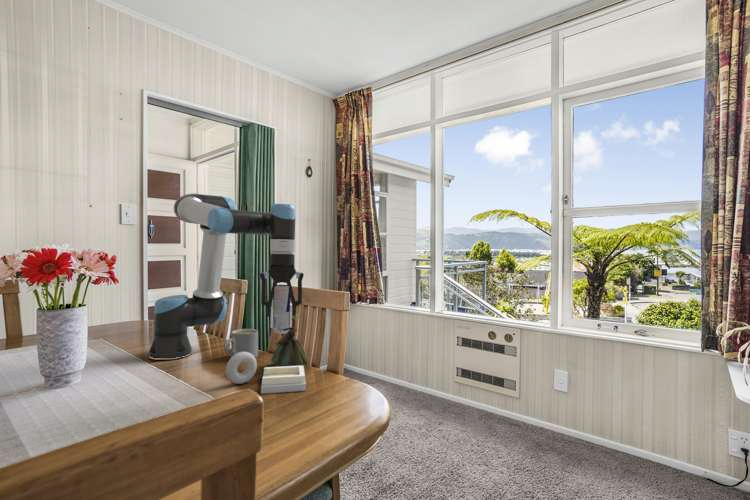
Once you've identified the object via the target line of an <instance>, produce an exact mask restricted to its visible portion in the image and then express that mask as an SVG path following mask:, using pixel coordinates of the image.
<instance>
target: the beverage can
mask: <svg viewBox="0 0 750 500" xmlns="http://www.w3.org/2000/svg"><path fill="white" fill-rule="evenodd" d="M272 303H273V305H272V306H273V328H272V331H273V332H274V333H275V334H278V335H279V334H280V335H281V334H284V333H287V332H288V331H289V330H290V306H291V298H290V294H289V286H287V284H277V286H275V289H274V297H273V300H272Z"/></svg>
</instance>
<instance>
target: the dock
mask: <svg viewBox="0 0 750 500" xmlns="http://www.w3.org/2000/svg"><path fill="white" fill-rule="evenodd" d="M261 378H262V380H261V386H260V394H274V393H275V394H276V393H289V392H290V393H291V392H292V393H293V392H305V391H306V388H307V387H306V386H307V385H306V384H307V383H306V375H305V365H304V366H303V365H302V366H282V367H275V366H269V367H268V366H267V367H264V368H263V376H262V377H261Z"/></svg>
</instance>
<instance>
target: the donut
mask: <svg viewBox="0 0 750 500" xmlns="http://www.w3.org/2000/svg"><path fill="white" fill-rule="evenodd" d="M243 363H244V364H245V369H244V370H243V371H242V372H239V371H238V368H239V366H240V364H243ZM225 367H226V368H225V374H226V377H227V379H228V380H229V381H230V382H231V383H233V384H235V385H240V384H241V385H242V384H245V383H247V382H249V381H250V380H251V379H252V378H253V377H254V376H255V374H256V372H257V368H258V363H257V358H255V357H254V356H253V355H252V354H251V353H249V352H239V353H236V354H235V355H234V356H232V357H230V359H229V360H228V362H227V364H226V366H225Z"/></svg>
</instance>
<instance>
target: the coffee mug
mask: <svg viewBox="0 0 750 500" xmlns="http://www.w3.org/2000/svg"><path fill="white" fill-rule="evenodd" d="M230 343H231V347H230V348H231V349H229V345H230ZM223 350H224V352H225V353H226V354H227V355H230V356H231V357H232V356H234V355H235V354H236V353H239V352H249V353H251V354H252V355H253V356H254V357H256V358H258V357H259V356H258V355H259V330H257V329H254V328H241V329H236V330H235V329H234V330H233V331H231V337H230V338H227V339H225V341H224V343H223ZM257 356H258V357H257ZM231 357H230V358H231Z"/></svg>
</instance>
